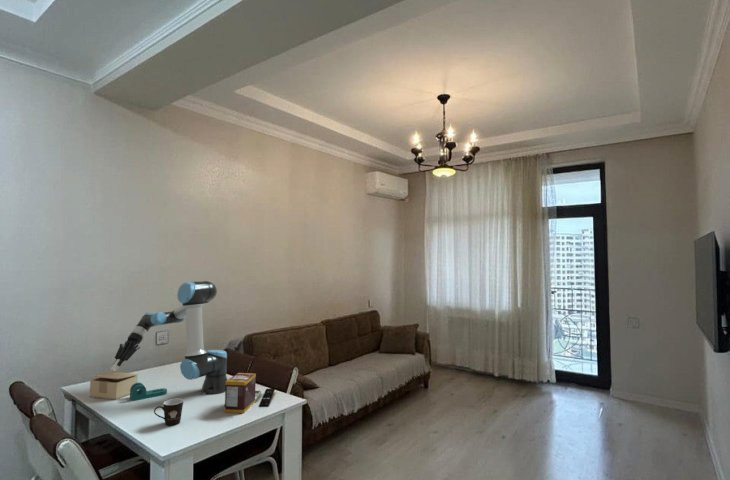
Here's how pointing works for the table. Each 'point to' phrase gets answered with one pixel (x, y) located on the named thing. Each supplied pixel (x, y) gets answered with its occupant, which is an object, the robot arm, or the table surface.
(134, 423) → the table surface
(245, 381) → the supplement box
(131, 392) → the bracket
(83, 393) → the table surface
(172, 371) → the table surface
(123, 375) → the carton lid
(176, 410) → the coffee mug
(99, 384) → the carton
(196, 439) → the table surface
